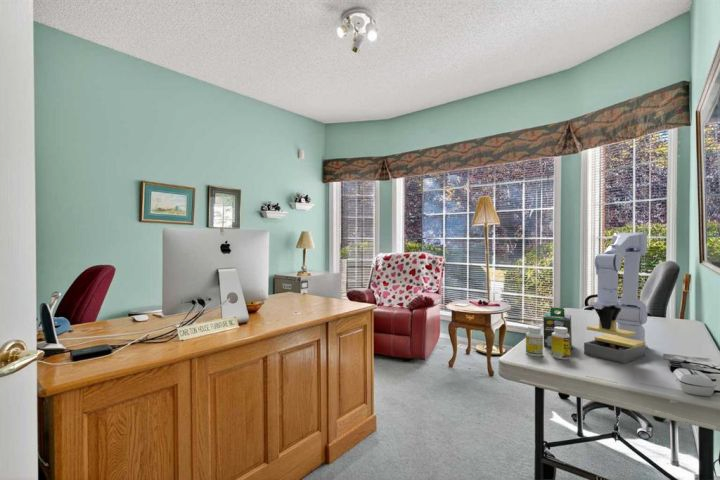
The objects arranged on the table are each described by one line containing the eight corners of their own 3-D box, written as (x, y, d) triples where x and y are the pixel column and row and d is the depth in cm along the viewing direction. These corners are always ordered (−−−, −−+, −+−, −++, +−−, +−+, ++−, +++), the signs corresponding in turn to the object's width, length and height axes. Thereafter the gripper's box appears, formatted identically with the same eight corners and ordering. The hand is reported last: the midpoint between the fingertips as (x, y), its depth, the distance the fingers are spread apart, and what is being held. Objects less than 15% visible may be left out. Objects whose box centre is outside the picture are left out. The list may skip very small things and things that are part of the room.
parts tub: (607, 346, 132) (607, 333, 132) (645, 355, 122) (645, 341, 122) (584, 353, 124) (584, 339, 124) (623, 363, 113) (623, 348, 113)
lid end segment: (596, 327, 127) (596, 315, 127) (635, 335, 116) (636, 322, 116) (586, 329, 123) (587, 317, 123) (626, 337, 113) (626, 323, 113)
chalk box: (571, 344, 135) (571, 306, 135) (571, 350, 127) (571, 310, 127) (544, 341, 140) (545, 304, 140) (542, 346, 132) (543, 307, 132)
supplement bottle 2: (565, 361, 115) (565, 330, 116) (548, 356, 120) (548, 327, 120) (573, 358, 118) (573, 328, 119) (556, 353, 123) (556, 325, 123)
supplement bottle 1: (540, 357, 118) (540, 329, 119) (523, 354, 122) (524, 327, 122) (544, 354, 123) (544, 327, 123) (528, 351, 126) (528, 324, 126)
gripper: (610, 291, 112) (610, 333, 111) (631, 288, 119) (631, 328, 119) (587, 288, 118) (587, 328, 117) (608, 286, 125) (607, 324, 125)
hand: (607, 328), depth 119 cm, fingers closed on lid end segment, 2 cm apart
